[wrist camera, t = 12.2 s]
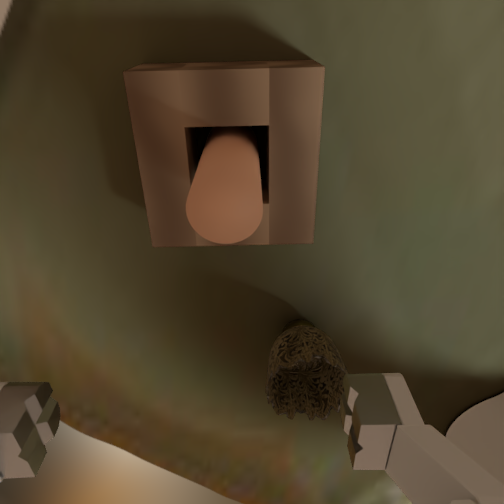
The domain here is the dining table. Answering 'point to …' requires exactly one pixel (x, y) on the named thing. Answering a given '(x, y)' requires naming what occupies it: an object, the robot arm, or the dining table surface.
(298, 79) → the socket block
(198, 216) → the peg
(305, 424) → the dining table surface
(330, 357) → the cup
